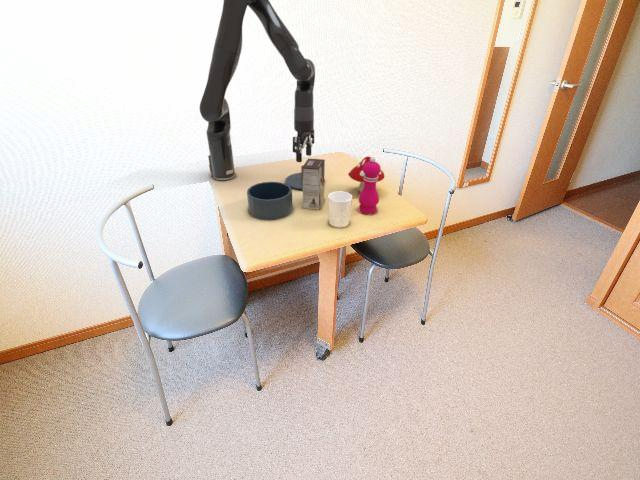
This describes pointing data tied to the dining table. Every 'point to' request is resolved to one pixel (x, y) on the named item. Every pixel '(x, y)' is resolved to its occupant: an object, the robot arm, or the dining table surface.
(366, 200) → the pepper mill
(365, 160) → the decorative mushroom
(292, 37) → the robot arm
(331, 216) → the white cup
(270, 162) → the dining table surface
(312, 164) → the coffee box
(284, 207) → the pot
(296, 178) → the pot lid
